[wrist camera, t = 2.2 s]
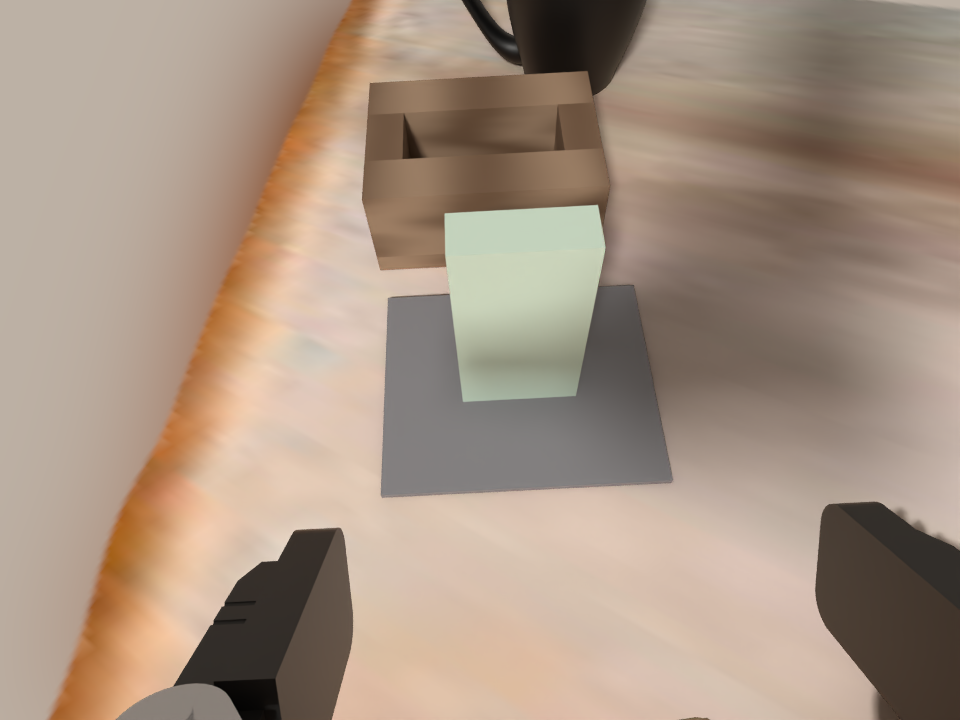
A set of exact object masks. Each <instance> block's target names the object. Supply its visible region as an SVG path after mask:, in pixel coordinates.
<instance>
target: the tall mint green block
mask: <svg viewBox="0 0 960 720" xmlns="http://www.w3.org/2000/svg"><path fill="white" fill-rule="evenodd" d="M605 248H606V247H605V241H604V236H603V230H602V225H601V219H600V214H599V208H598V205H589V206H571V207H552V208H534V209H515V210H497V211H478V212H460V213H445V258H446V266H447V274H448V283H449V291H450V299H451V307H452V316H453V324H454V332H455V340H456V348H457V357H458V365H459V373H460V381H461V390H462V398H463V402H471V401H490V400H509V399H528V398H548V397H567V396H576V393H577V388H578V383H579V378H580V373H581V368H582V363H583V358H584V353H585V348H586V343H587V338H588V333H589V328H590V323H591V318H592V313H593V308H594V303H595V298H596V293H597V288H598V283H599V278H600V273H601V268H602V263H603V258H604V253H605Z"/></svg>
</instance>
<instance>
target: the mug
mask: <svg viewBox="0 0 960 720" xmlns="http://www.w3.org/2000/svg"><path fill="white" fill-rule="evenodd" d="M462 1H463V3H464V5H465V6H466V8H467V10H468V11H469V13H470V14H471V16H472V18H473V19H474V21H475V22H476V24H477V25H478V27H479V28H480V30H481V31H482V33H483V34H484V36H485V37H486V39H487V40H488V41H489V43H490V44H491V45H492V47H493V48H494V49H495V50H496V51H497V52H498V53H499V54H500V55H501V56H502V57H503V58H505V59H506V60H508V61H510V62H512V63H516V64H522V65H523V69H524V74H525V75H526V74H544V73H562V72H580V71H588V76H589V81H590V86H591V91H592V95H594V94H597V93H599V92H600V91H601V90H603V89H604V88H605V87H606V86H607V85H608V84H609V83H610V81H611V79H612V77H613V75H614V72H615V70H616V68H617V66H618V64H619V62H620V60H621V58H622V56H623V54H624V52H625V50H626V48H627V46H628V44H629V42H630V40H631V38H632V35H633V33H634V31H635V29H636V26H637V24H638V21H639V19H640V17H641V14H642V11H643V8H644V6H645V3H646V0H507V6H508V11H509V16H510V21H511V25H512V30H513V34H514V35H511V34H509V33H507V32H506V31H504V30H503V29H502V28H501V27H499V26H498V24H497V23H496V22H495V21H494V20H493V18H492V17H491V16H490V14H489V13H488V11H487V10H486V9H485V7H484V5H483V4H482V2H481V1H480V0H462Z"/></svg>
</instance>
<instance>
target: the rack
mask: <svg viewBox="0 0 960 720" xmlns="http://www.w3.org/2000/svg"><path fill="white" fill-rule="evenodd" d="M609 190H610V182H609V177H608V172H607V167H606V162H605V157H604V152H603V147H602V142H601V137H600V132H599V127H598V122H597V116H596V111H595V106H594V101H593V96H592V91H591V86H590V81H589V76H588V71H580V72H562V73H544V74H526V75H508V76H490V77H472V78H454V79H436V80H418V81H400V82H382V83H370V89H369V104H368V119H367V133H366V148H365V163H364V177H363V192H362V201H363V205H364V209H365V213H366V217H367V221H368V224H369V228H370V232H371V236H372V240H373V244H374V247H375V251H376V255H377V259H378V263H379V267H380V270H393V269H412V268H430V267H447V266H446V258H445V213H460V212H478V211H497V210H515V209H534V208H552V207H571V206H589V205H598V208H599V214H600V219H601V225H602V227H603V222H604V216H605V211H606V206H607V200H608V195H609Z"/></svg>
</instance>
